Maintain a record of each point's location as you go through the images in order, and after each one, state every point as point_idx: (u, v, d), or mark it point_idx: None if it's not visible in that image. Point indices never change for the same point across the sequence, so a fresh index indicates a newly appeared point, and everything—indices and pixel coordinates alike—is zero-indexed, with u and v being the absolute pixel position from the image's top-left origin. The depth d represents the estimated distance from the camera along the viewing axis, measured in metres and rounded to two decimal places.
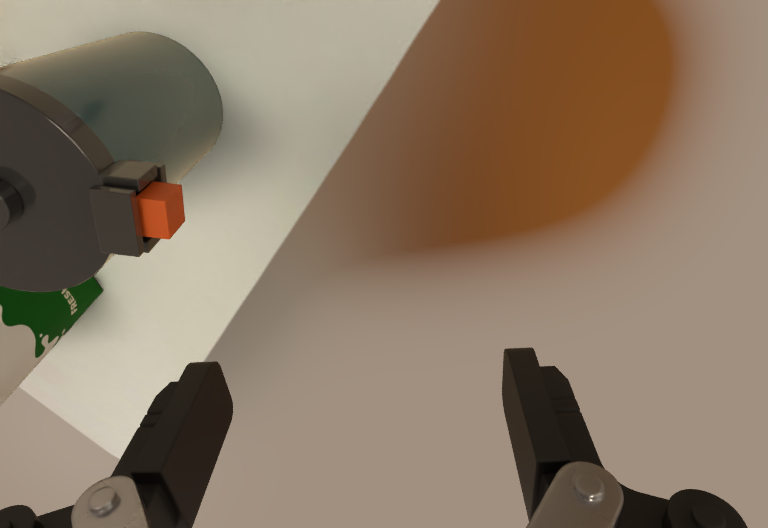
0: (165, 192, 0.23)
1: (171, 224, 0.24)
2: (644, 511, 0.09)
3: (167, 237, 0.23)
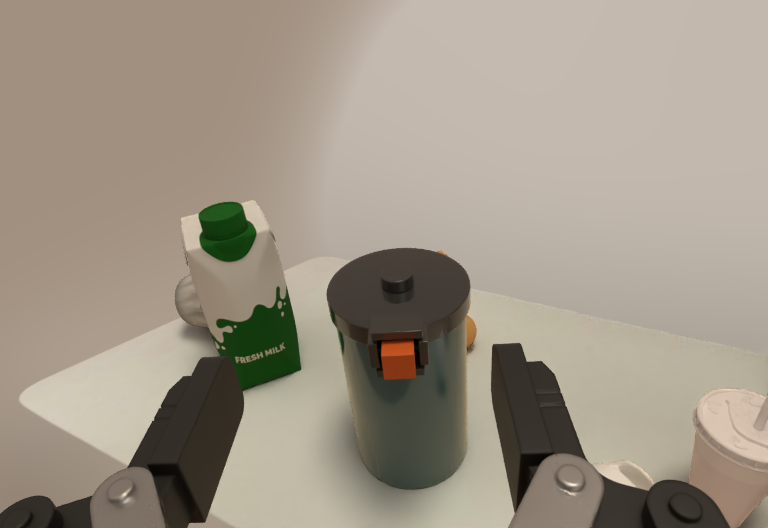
0: None
1: (391, 360, 0.30)
2: (625, 501, 0.10)
3: (383, 355, 0.30)
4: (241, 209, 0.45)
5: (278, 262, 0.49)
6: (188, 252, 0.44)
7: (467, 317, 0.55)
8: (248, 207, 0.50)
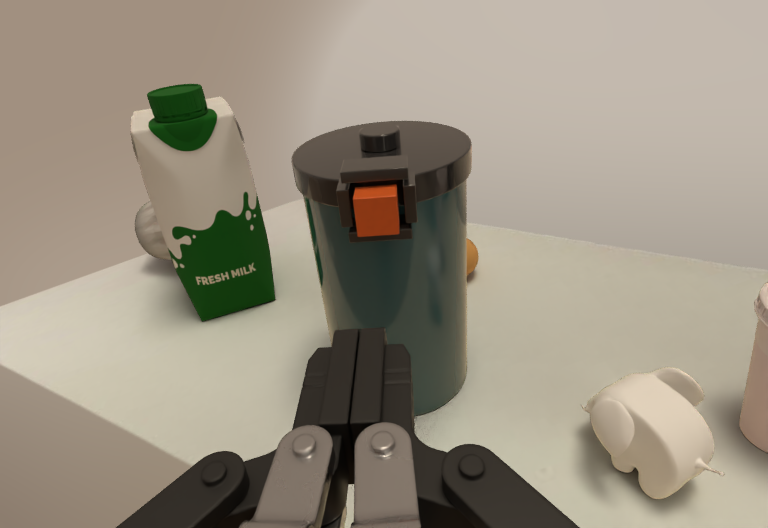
0: (397, 210, 0.23)
1: (367, 205, 0.23)
2: (433, 464, 0.11)
3: (355, 197, 0.23)
4: (199, 87, 0.38)
5: (246, 163, 0.42)
6: (133, 134, 0.36)
7: (468, 240, 0.47)
8: (212, 101, 0.43)
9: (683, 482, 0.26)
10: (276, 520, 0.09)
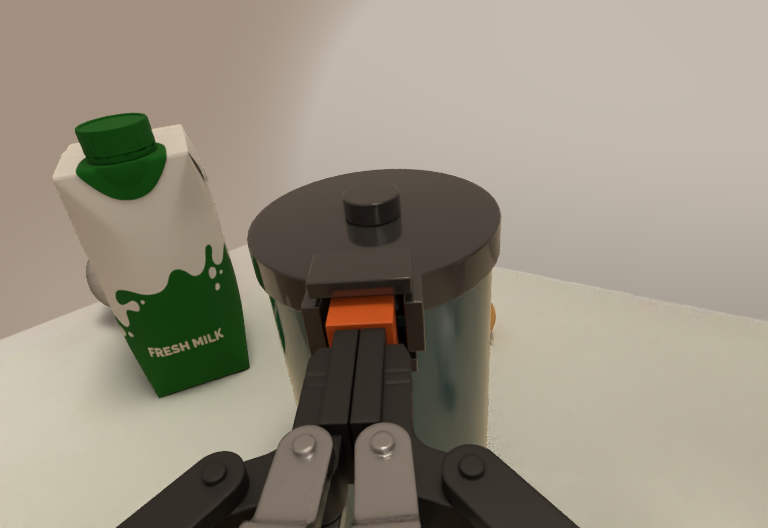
0: (395, 338, 0.15)
1: None
2: (433, 464, 0.11)
3: (329, 323, 0.15)
4: (142, 119, 0.29)
5: (208, 209, 0.34)
6: (55, 181, 0.28)
7: None
8: (168, 131, 0.35)
9: None
10: (276, 520, 0.09)
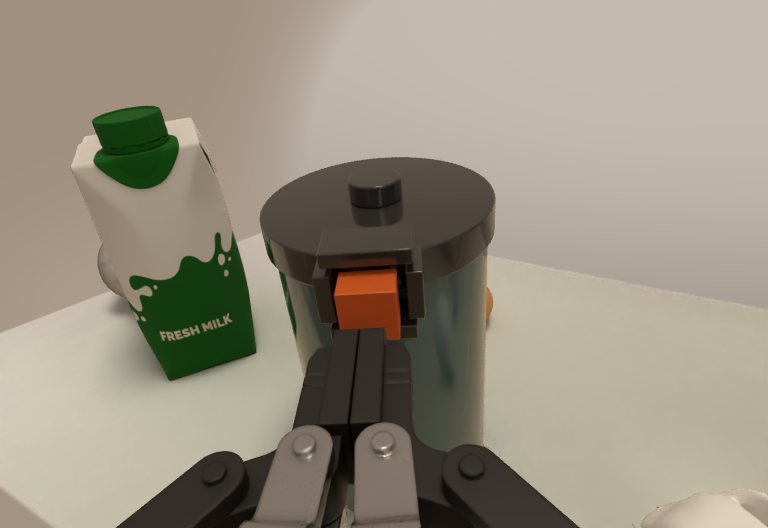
0: (398, 307, 0.17)
1: (354, 303, 0.16)
2: (433, 464, 0.11)
3: (338, 293, 0.16)
4: (156, 111, 0.31)
5: (218, 198, 0.35)
6: (74, 170, 0.30)
7: None
8: (178, 124, 0.36)
9: None
10: (276, 520, 0.09)
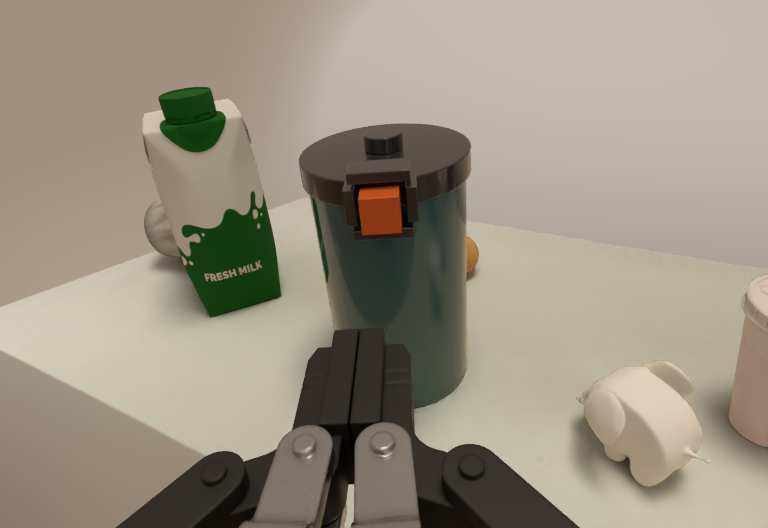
0: (400, 210, 0.25)
1: (371, 205, 0.24)
2: (433, 464, 0.11)
3: (360, 198, 0.24)
4: (208, 90, 0.39)
5: (253, 163, 0.43)
6: (145, 136, 0.38)
7: (468, 238, 0.49)
8: (220, 103, 0.44)
9: (671, 469, 0.27)
10: (276, 520, 0.09)
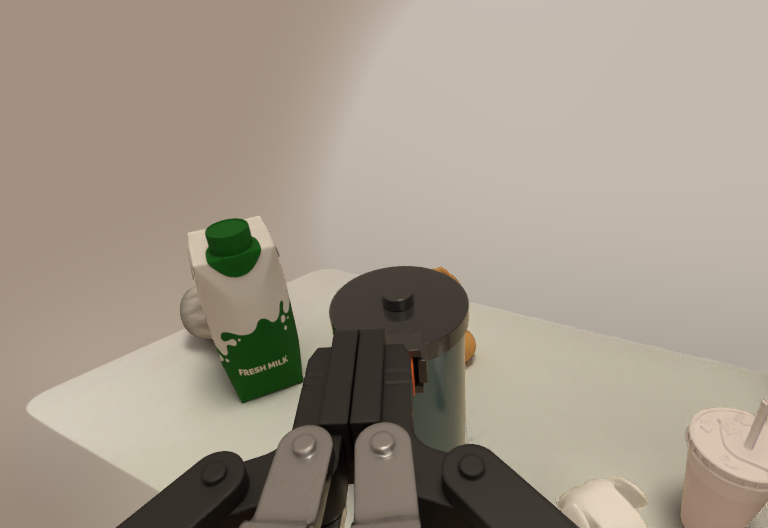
0: None
1: None
2: (433, 464, 0.11)
3: None
4: (246, 226, 0.46)
5: (282, 277, 0.50)
6: (194, 268, 0.45)
7: (467, 332, 0.56)
8: (253, 223, 0.52)
9: None
10: (276, 520, 0.09)
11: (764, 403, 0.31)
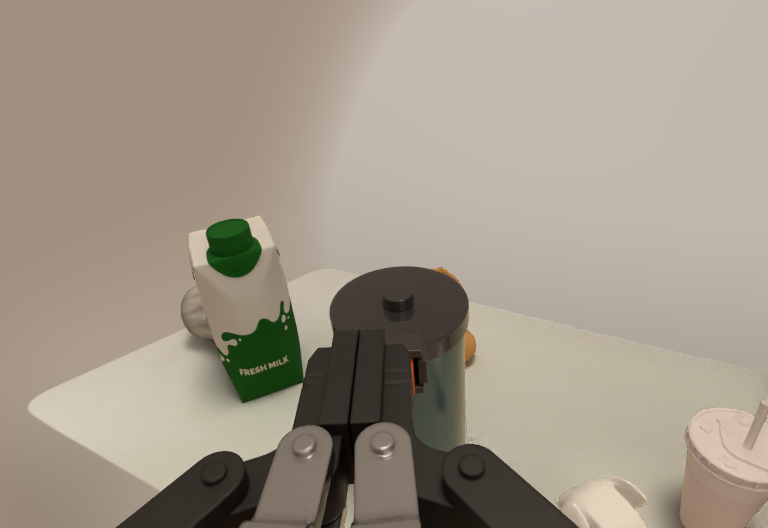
0: None
1: None
2: (433, 464, 0.11)
3: None
4: (247, 226, 0.46)
5: (282, 277, 0.51)
6: (195, 268, 0.45)
7: (467, 331, 0.56)
8: (253, 223, 0.52)
9: None
10: (276, 520, 0.09)
11: (763, 403, 0.31)
